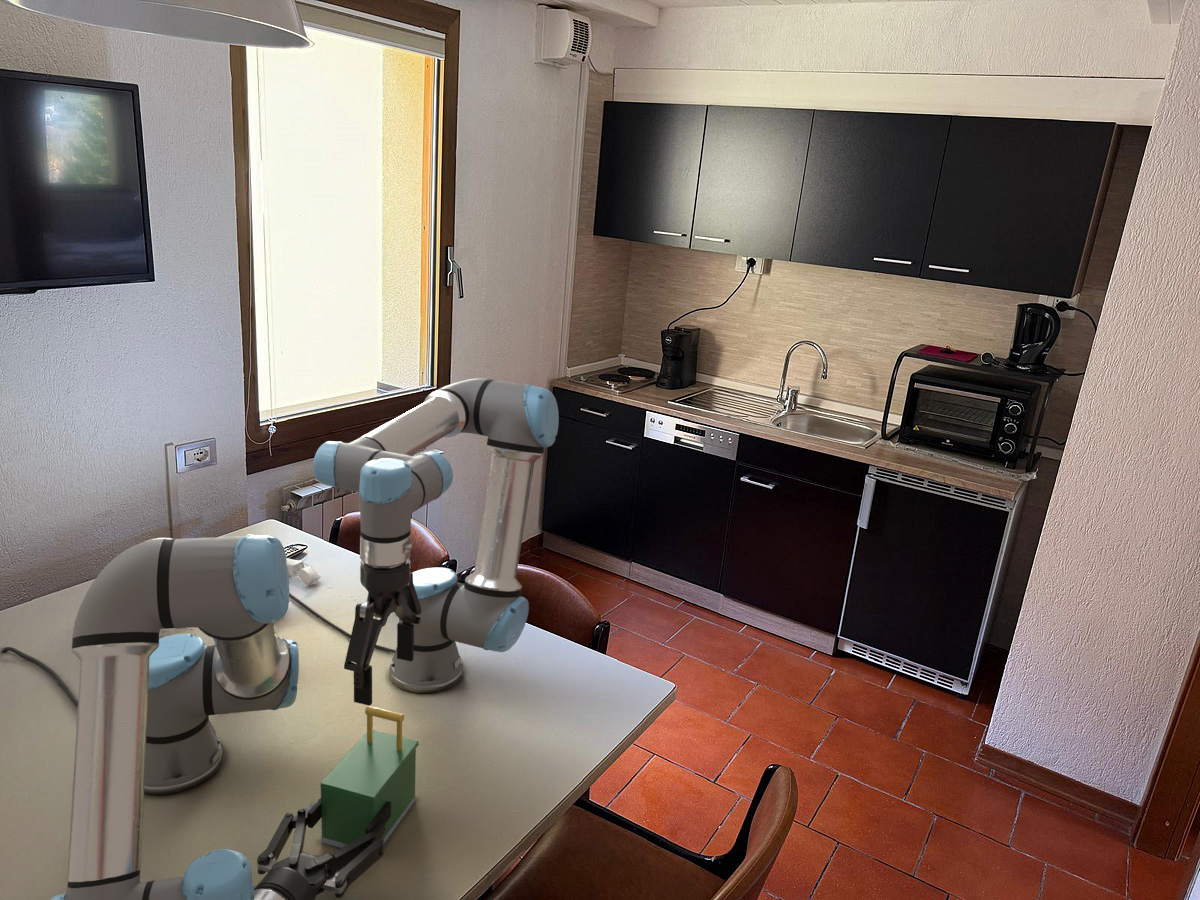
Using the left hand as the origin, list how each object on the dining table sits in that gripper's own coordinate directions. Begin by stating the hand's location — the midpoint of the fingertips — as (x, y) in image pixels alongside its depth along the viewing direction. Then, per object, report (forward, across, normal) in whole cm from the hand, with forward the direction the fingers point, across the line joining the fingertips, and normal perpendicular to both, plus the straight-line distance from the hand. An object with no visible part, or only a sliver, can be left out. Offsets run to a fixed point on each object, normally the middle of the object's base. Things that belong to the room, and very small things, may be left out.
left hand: (360, 801), depth 136 cm
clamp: (+73, -64, -6) cm, 98 cm away
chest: (+3, 0, -6) cm, 7 cm away
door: (+3, 0, +4) cm, 5 cm away
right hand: (+8, 0, +18) cm, 19 cm away
